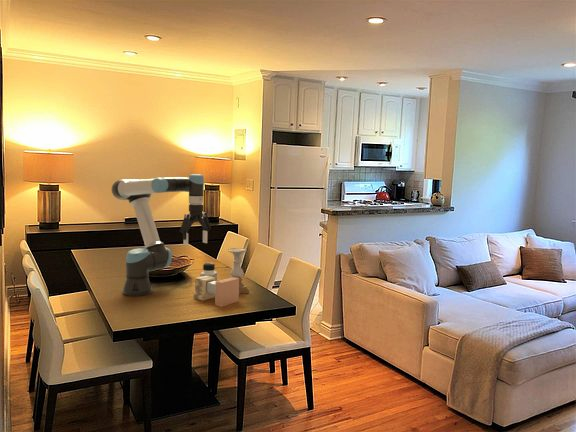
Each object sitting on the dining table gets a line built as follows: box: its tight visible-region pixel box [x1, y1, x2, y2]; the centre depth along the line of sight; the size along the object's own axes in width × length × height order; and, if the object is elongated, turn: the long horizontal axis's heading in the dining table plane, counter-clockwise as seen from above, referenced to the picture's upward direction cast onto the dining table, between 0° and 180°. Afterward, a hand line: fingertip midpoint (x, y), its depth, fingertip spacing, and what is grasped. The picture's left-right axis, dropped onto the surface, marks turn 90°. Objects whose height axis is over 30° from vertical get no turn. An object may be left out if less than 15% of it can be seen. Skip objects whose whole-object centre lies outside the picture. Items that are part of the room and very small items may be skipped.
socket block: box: [214, 276, 240, 308], centre depth 253 cm, size 4×13×12 cm, turn 144°
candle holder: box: [228, 247, 250, 295], centre depth 275 cm, size 11×11×24 cm
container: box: [199, 262, 218, 281], centre depth 287 cm, size 8×8×13 cm
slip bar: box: [206, 280, 216, 294], centre depth 257 cm, size 15×5×5 cm, turn 54°
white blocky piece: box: [193, 276, 215, 301], centre depth 263 cm, size 7×10×11 cm
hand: (195, 244), depth 259 cm, fingers open, 13 cm apart
